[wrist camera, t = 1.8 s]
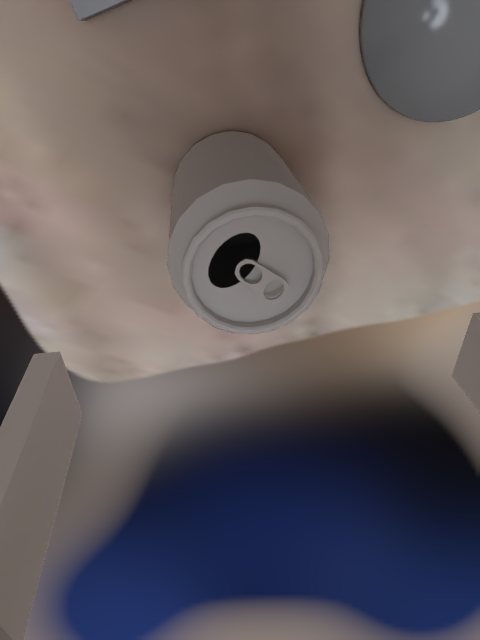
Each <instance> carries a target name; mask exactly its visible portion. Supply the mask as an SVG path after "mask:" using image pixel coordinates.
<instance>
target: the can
mask: <svg viewBox="0 0 480 640" xmlns="http://www.w3.org/2000/svg"><path fill="white" fill-rule="evenodd" d="M328 261H329V234H328V232H327V229H326V227H325V225H324V222H323V220H322V217H321V215H320V213H319V211H318V210H317V208H316V207H315V205H314V204H313V203H312V201H311V200H310V198H309V197H308V195H307V194H306V193H305V191H304V190H303V188H302V187H301V185H300V184H299V182H298V181H297V180H296V178H295V177H294V175H293V174H292V172H291V171H290V170H289V168H288V167H287V165H286V164H285V162H284V161H283V160H282V158H281V157H280V156H279V155H278V153H277V152H276V151H275V150H274V149H273V148H272V147H271V146H270V145H269V144H268V143H267V142H265V141H263V140H262V139H260V138H258V137H256V136H254V135H252V134H249V133H243V132H236V131H227V132H222V133H217V134H212V135H210V136H208V137H207V138H205V139H203V140H201V141H200V142H198V143H196V144H194V146H193V147H192V148H191V149H190V150H189V151H188V152H187V154H186V155H185V156H184V157H183V158H182V159H181V162H180V164H179V167H178V169H177V171H176V174H175V176H174V185H173V197H172V209H171V221H170V234H169V247H168V262H167V266H168V270H169V273H170V276H171V280H172V283H173V286H174V288H175V290H176V291H177V293H178V294H179V295H180V297H181V298H182V299H183V301H184V302H185V304H186V305H187V306H188V307H190V308H191V309H193V310H194V311H195V313H196V314H197V315H198V316H199V317H201V318H202V319H203V320H205V321H206V322H208V323H209V324H210V325H212V326H213V327H216V328H219V329H222V330H225V331H227V332H230V333H238V334H257V333H263V332H268V331H273V330H275V329H277V328H279V327H282V326H284V325H286V324H288V323H290V322H292V321H293V320H294V319H296V318H297V317H298V316H299V315H300V314H302V313H303V312H304V311H305V310H306V309H308V307H309V306H310V304H311V303H312V301H313V300H314V298H315V297H316V295H317V294H318V292H319V290H320V286H321V283H322V280H323V277H324V274H325V271H326V267H327V264H328Z"/></svg>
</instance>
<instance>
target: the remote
mask: <svg viewBox="0 0 480 640" xmlns="http://www.w3.org/2000/svg"><path fill="white" fill-rule="evenodd" d="M129 1H132V0H70V3H71V5H72V7H73V9H74V11H75V14H76V16H77V18H78V20H81V21H85V20H88V19H90V18H92V17H95V16H97V15H99V14H102V13H104V12H106V11H109V10H111V9H113V8H116V7H118V6H120V5H122V4H125V3H127V2H129Z"/></svg>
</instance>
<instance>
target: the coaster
mask: <svg viewBox="0 0 480 640" xmlns="http://www.w3.org/2000/svg"><path fill="white" fill-rule="evenodd" d="M359 35H360V49H361V55H362V61H363V64H364V67H365V71H366V74H367V76H368V78H369V80H370V83H371V85H372V86H373V88H374V89H375V91H376V93H377V94H378V95H379V96H380V98H381V99H382V100H383V101H384V102H385V103H386V104H387V105H388V106H390V107H391V108H392V109H393V110H395V111H397V112H399V113H401V114H402V115H405V116H407V117H410V118H413V119H415V120H420V121H425V122H443V121H450V120H454V119H458V118H461V117H464V116H466V115H469V114H471V113H474V112H476V111H477V110H479V109H480V0H363V1H362V8H361V14H360V29H359Z"/></svg>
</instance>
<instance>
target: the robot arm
mask: <svg viewBox="0 0 480 640" xmlns="http://www.w3.org/2000/svg"><path fill="white" fill-rule="evenodd" d="M452 377H453V379H454V380H455V381H456V383H457V384H458V385H459V387H460V388H461V389H462V390H463V392H464V393H465V395H466V396H467V397H468V398H469V400H470V401H471V402H472V404H473V405H474V406H475V408H476V409H477V410H478V412H479V413H480V313H473V315H472V318H471V321H470V324H469V326H468V329H467V332H466V335H465V338H464V341H463V344H462V347H461V350H460V353H459V356H458V359H457V362H456V364H455V368H454V370H453V373H452ZM81 418H82V411H81V409H80V406H79V403H78V401H77V398H76V395H75V392H74V390H73V387H72V384H71V381H70V378H69V376H68V373H67V370H66V367H65V365H64V362H63V359H62V356H61V354H60V352H51V353H41V354H34V355H33V357H32V360H31V362H30V364H29V366H28V368H27V370H26V373H25V375H24V377H23V379H22V381H21V384H20V386H19V388H18V390H17V392H16V394H15V397H14V399H13V401H12V403H11V405H10V407H9V409H8V412H7V414H6V416H5V418H4V420H3V423H2V425H1V427H0V640H23V638H24V634H25V631H26V627H27V623H28V619H29V616H30V612H31V608H32V604H33V600H34V597H35V593H36V589H37V585H38V581H39V578H40V574H41V570H42V566H43V562H44V558H45V555H46V551H47V547H48V543H49V540H50V536H51V532H52V528H53V524H54V520H55V517H56V513H57V509H58V505H59V501H60V498H61V494H62V490H63V487H64V483H65V479H66V475H67V471H68V467H69V464H70V460H71V456H72V452H73V448H74V445H75V441H76V437H77V433H78V429H79V426H80V422H81Z"/></svg>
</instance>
